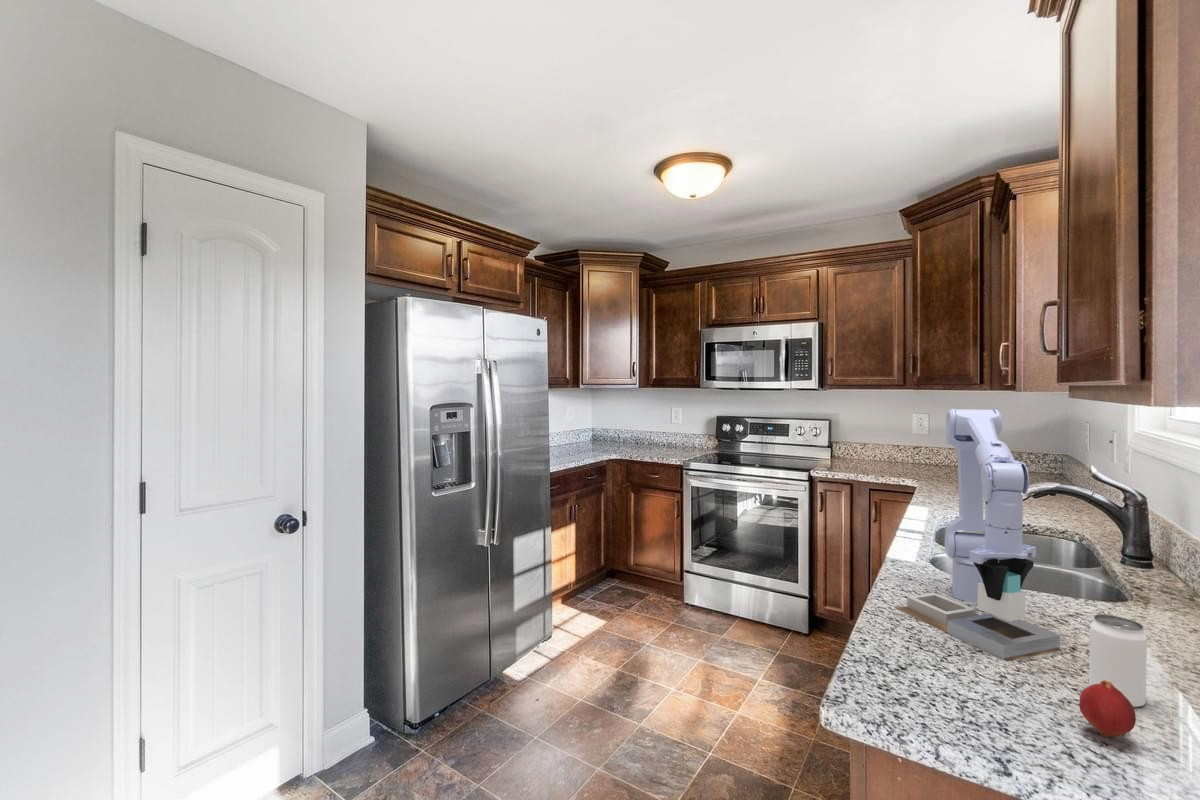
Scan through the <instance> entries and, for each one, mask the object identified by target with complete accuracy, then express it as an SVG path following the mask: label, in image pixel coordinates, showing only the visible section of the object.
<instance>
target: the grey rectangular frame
mask: <svg viewBox="0 0 1200 800" xmlns="http://www.w3.org/2000/svg"><path fill="white" fill-rule="evenodd" d="M906 598H907V599H906V600H907V602H906V606H907V607H908V608H911V609H913V610H915V611H917V612H919V613H921V614H924V615H926V616H928V617H930V618H932V619H934V620H937V621H939V622H941V623H943V624H945V625H947V620H952V619H959V618H965V617H971V616H976V614H977V610H976V608H972V607H971V606H968V605H966V604H963V603H961V602H958V601H956V600H953V599H950V598H948V597H945V596H943V595H941V594H938V593H936V592H931V593H926V594H918V595H911V596H907V597H906ZM933 605H936V606H938V607H940V608H943V609H945V610H947V612H946V611H944V610H942V609H939V608H937V607H935V606H933Z"/></svg>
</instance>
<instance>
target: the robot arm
mask: <svg viewBox="0 0 1200 800" xmlns="http://www.w3.org/2000/svg"><path fill="white" fill-rule="evenodd" d="M945 418H946V419H945V435H946V436H945V438H946V440H947V444H948V445H950V446H952V447H954V448H955V452H956V456H957V457H956V458H957V479H958V480H957V481H958V482H957V483H958V485H957V487H958V488H957V489H958V512H959V513H958V515H959V516H958V517H957V518H955V519H954V520H951V521H950V522H948V523H947V524H946V526H945V534H944V550H945V554H946V555H947V557H948V558H949V559H952V579H951V581H952V583H951V585H952V589H951V591H952V593H951V595H952V596H953V597H955V598H957V599H959V600H962V601H965V602H970V603H974V604H975V603H976V604H978V583H982V580H983V583H984V586H985V590H986V594H987V597H989V598H992V599H995V600H1000V599H1001V596H1002V589H1003V582H1004V578H1005V575H1006V573H1007V571H1009V572H1012V573H1015V574H1018V575H1020V590H1021V591H1022V586H1023V583H1024V581H1025V579H1026V578H1027V576H1028V575H1029V573H1030V571H1031V570H1032V569H1033V568H1034V565H1035V564H1034V561H1033V560H1030V559H1028V558H1036V556H1037V547H1036V546H1033V545H1029V544H1025V543H1023V531H1024V530H1023V525H1024V524H1023V521H1024V495H1025V494H1027V492H1028V490H1029V486H1030V485H1029V484H1030V475H1029V470H1028V468H1027V465H1026V463H1024V462H1021V461H1017V460H1015V457H1014V456H1013V454H1012V451H1011V450H1010V447H1009V446H1008V445H1007V444H1006V443H1005V442H1004V441H1001V440H999V435H1000V434H1001V433H1002V429H1003V417H1002V414H1001V412H1000V411H999V410H998V409H995V408H992V409H963V408H961V409H958V408H957V409H956V408H950V409H948V411H947V412H946V417H945ZM984 501H985V503H984ZM963 531H964V532H963ZM965 531H966V532H965ZM967 531H969V532H967ZM970 531H971V532H970ZM974 532H975V533H974ZM976 532H978V533H976ZM979 532H981V533H979Z"/></svg>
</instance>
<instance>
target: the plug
mask: <svg viewBox="0 0 1200 800" xmlns="http://www.w3.org/2000/svg"><path fill="white" fill-rule="evenodd" d="M977 609H978V610H980V611H982V612H986V614H989V613H990V614H992V615H995V616H997V617H1000V618H1002V619H1004V620H1007V621H1014V620H1025V618H1026V592H1025V591H1023V590H1022V589H1021V590H1020V575H1018V574H1015V573H1012V572H1009V571H1007V573H1006V575H1005V578H1004V582H1003V589H1002V596H1001V599H1000V600H995V599H992V598H989V597H987V594H986V590H985V586H984V583H983V580H982V583H978V603H977Z"/></svg>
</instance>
